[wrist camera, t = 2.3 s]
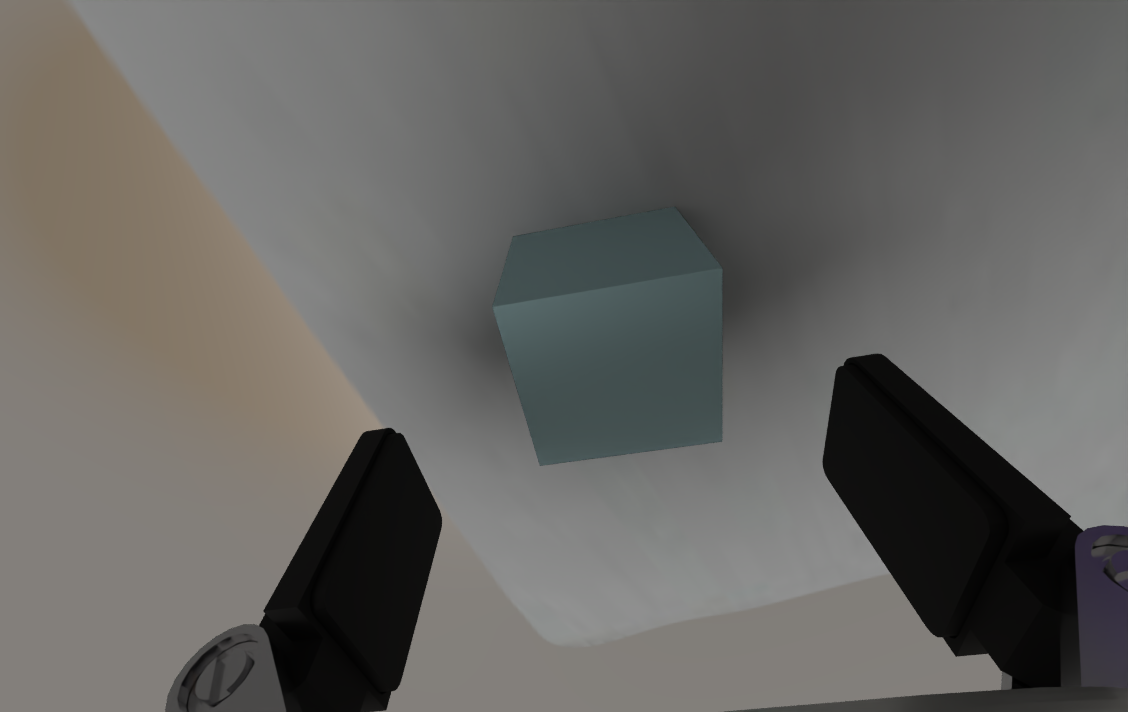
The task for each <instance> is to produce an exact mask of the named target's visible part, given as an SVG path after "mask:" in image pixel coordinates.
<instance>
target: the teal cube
mask: <svg viewBox="0 0 1128 712" xmlns="http://www.w3.org/2000/svg"><path fill="white" fill-rule="evenodd" d="M492 308H493V311H494V314H495V318H496V321H497V324H498V328H499V331H500V334H501V338H502V341H503V344H504V348H505V351H506V354H507V358H508V361H509V364H510V368H511V371H512V374H513V378H514V381H515V384H516V388H517V391H518V394H519V398H520V401H521V404H522V408H523V411H524V414H525V418H526V421H527V424H528V428H529V431H530V434H531V438H532V441H533V444H534V448H535V451H536V454H537V458H538V461H539V464H540V466H542V465H550V464H557V463H565V462H572V461H580V460H587V459H595V458H602V457H610V456H617V455H625V454H632V453H640V452H647V451H655V450H662V449H670V448H678V447H685V446H693V445H700V444H708V443H715V442H722V267H721V265H720V264H719V263H718V262H717V260H716V259H715V258H714V256H713V255H712V254H711V253H710V251H709V250H708V249H707V247H706V246H705V245H704V244H703V242H702V241H701V240H700V238H699V237H698V236H697V235H696V233H695V232H694V231H693V229H692V228H691V227H690V226H689V224H688V223H687V222H686V220H685V219H684V218H683V217H682V215H681V214H680V213H679V211H678V210H677V209H676V208H675V207H670V208H664V209H659V210H654V211H648V212H643V213H637V214H632V215H627V216H621V217H616V218H610V219H605V220H600V221H594V222H589V223H583V224H578V225H573V226H567V227H562V228H556V229H551V230H546V231H540V232H535V233H529V234H524V235H519V236H513V239H512V242H511V246H510V249H509V252H508V256H507V259H506V263H505V266H504V269H503V273H502V276H501V279H500V283H499V286H498V289H497V293H496V296H495V300H494V303H493V306H492Z"/></svg>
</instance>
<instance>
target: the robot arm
mask: <svg viewBox="0 0 1128 712" xmlns="http://www.w3.org/2000/svg"><path fill="white" fill-rule="evenodd" d="M823 468H824V472H825V474H826V477H827V478H828V480H829V482H830V483H831V485H832V486H833V488H834V489H835V491H836V492H837V494H838V495H839V497H840V498H841V500H842V501H843V503H844V504H845V506H846V507H847V509H848V510H849V512H850V513H851V515H852V516H853V518H854V519H855V521H856V522H857V524H858V525H859V527H860V528H861V530H862V531H863V533H864V534H865V536H866V537H867V539H868V540H869V542H870V543H871V545H872V546H873V548H874V549H875V551H876V552H877V554H878V555H879V557H880V558H881V560H882V561H883V563H884V564H885V566H886V567H887V569H888V570H889V572H890V573H891V575H892V576H893V578H894V579H895V581H896V582H897V584H898V585H899V587H900V588H901V590H902V591H903V592H904V594H905V595H906V597H907V599H908V600H909V601H910V603H911V605H912V606H913V608H914V609H915V610H916V612H917V614H918V615H919V616H920V618H921V620H922V621H923V623H924V624H925V626H926V627H927V628H928V629H929V631H930V632H931V633H932V634H933V635H935V636H937V637H943V638H944V640H945V641H946V643H947V644H948V646H949V647H950V648H951V650H952V652H953V653H954V654H955V656H956V657H957V656H967V655H977V654H989V655H990V656H991V658H992V659H993V660H994V662H995V663H996V665H997V666H998V667H999V669H1000V670H1001V671H1002V683H1001V690H993V691H979V692H963V693H947V694H931V695H918V696H905V697H893V698H882V699H870V700H858V701H845V702H833V703H821V704H810V705H797V706H784V707H772V708H761V709H749V710H737V711H726V712H1128V527H1124V526H1107V525H1102V526H1097V527H1092V528H1087V529H1086V530H1085V531H1083V530H1082V529H1081V528H1080V527H1078V526H1077V525H1076V524H1075V523H1074V522H1073V521H1071V520H1070V517H1071V516H1070V515H1069V514H1068V513H1067V512H1066V511H1064V510H1063V509H1062V508H1061V507H1060V506H1059V505H1057V504H1056V503H1055V502H1054V501H1053V500H1052V499H1050V498H1049V497H1048V496H1047V495H1046V494H1045V493H1044V492H1042V491H1041V490H1040V489H1039V488H1038V487H1037V486H1035V485H1034V484H1033V483H1032V482H1031V481H1030V480H1028V479H1027V478H1026V477H1025V476H1024V475H1023V474H1021V473H1020V472H1019V471H1018V470H1017V469H1016V468H1014V467H1013V466H1012V465H1011V464H1010V463H1009V462H1007V461H1006V460H1005V459H1004V458H1003V457H1002V456H1000V455H999V454H998V453H997V452H996V451H995V450H993V449H992V448H991V447H990V446H989V445H988V444H986V443H985V442H984V441H983V440H982V439H981V438H980V437H978V436H977V435H976V434H975V433H974V432H973V431H971V430H970V429H969V428H968V427H967V426H966V425H964V424H963V423H962V422H961V421H960V420H959V419H957V418H956V417H955V416H954V415H953V414H952V413H950V412H949V411H948V410H947V409H946V408H945V407H943V406H942V405H941V404H940V403H939V402H938V401H936V400H935V399H934V398H933V397H932V396H931V395H929V394H928V393H927V392H926V391H925V390H924V389H922V388H921V387H920V386H919V385H918V384H917V383H915V382H914V381H913V380H912V379H911V378H910V377H909V376H907V375H906V374H905V373H904V372H903V371H902V370H900V369H899V368H898V367H897V366H896V365H895V364H893V363H892V362H891V361H890V360H889V359H888V358H886V357H885V356H884V355H882V354H871V355H865V356H858V357H852V358H848V359H847V360H846V361H845V362H844V366H840V367H838V369H837V371H836V375H835V382H834V388H833V395H832V402H831V408H830V415H829V422H828V428H827V435H826V441H825V448H824V455H823ZM441 527H442V517H441V513H440V510H439V508H438V506H437V504H436V502H435V500H434V498H433V496H432V494H431V491H430V489H429V487H428V485H427V483H426V481H425V479H424V477H423V475H422V473H421V471H420V469H419V467H418V465H417V462H416V460H415V458H414V456H413V454H412V452H411V450H410V448H409V446H408V444H407V442H406V440H405V438H404V436H403V435H402V434H401V433H396V432H395V430H393V429H392V428H385V429H379V430H372V431H366V432H364V433H363V434H362V435H361V437H360V439H359V440H358V442H357V444H356V446H355V447H354V449H353V451H352V453H351V455H350V456H349V458H348V460H347V462H346V463H345V465H344V467H343V469H342V471H341V472H340V474H339V476H338V478H337V480H336V481H335V483H334V485H333V487H332V489H331V490H330V492H329V494H328V496H327V498H326V499H325V501H324V503H323V505H322V507H321V508H320V510H319V512H318V514H317V516H316V518H315V519H314V521H313V523H312V525H311V526H310V528H309V530H308V532H307V534H306V535H305V537H304V539H303V541H302V542H301V544H300V546H299V548H298V550H297V552H296V553H295V555H294V557H293V559H292V560H291V562H290V564H289V566H288V568H287V570H286V572H285V573H284V575H283V577H282V578H281V580H280V582H279V584H278V586H277V587H276V589H275V591H274V593H273V595H272V596H271V598H270V600H269V602H268V604H267V605H266V607H265V609H264V612H265V616H264V617H263V619H262V621H261V623H260V625H259V626H258V625H255V624H244V625H240V626H237V627H234V628H231V629H229V630H227V631H225V632H223V633H222V634H220V635H218V636H216V637H215V638H214V639H212V640H211V641H210V642H208V643H207V644H206V645H204V646H203V647H202V648H201V649H200V650H199V651H198V652H197V653H196V654H195V655H194V656H193V657H192V658H191V659H190V660H189V661H188V662H187V663H186V665H185V666H184V667H183V669H182V670H181V672H180V673H179V674H178V676H177V677H176V679H175V681H174V683H173V685H172V687H171V689H170V692H169V694H168V697H167V703H166V709H165V712H374V711H383V710H386V709H387V705H388V702H389V698H390V695H391V691H395V690H396V689H397V688H398V686H399V685H400V682H401V679H402V675H403V672H404V668H405V664H406V660H407V656H408V653H409V649H410V645H411V641H412V637H413V634H414V630H415V626H416V623H417V619H418V615H419V611H420V607H421V604H422V600H423V596H424V592H425V588H426V585H427V581H428V577H429V573H430V570H431V566H432V562H433V558H434V554H435V550H436V547H437V543H438V539H439V535H440V532H441Z"/></svg>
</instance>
